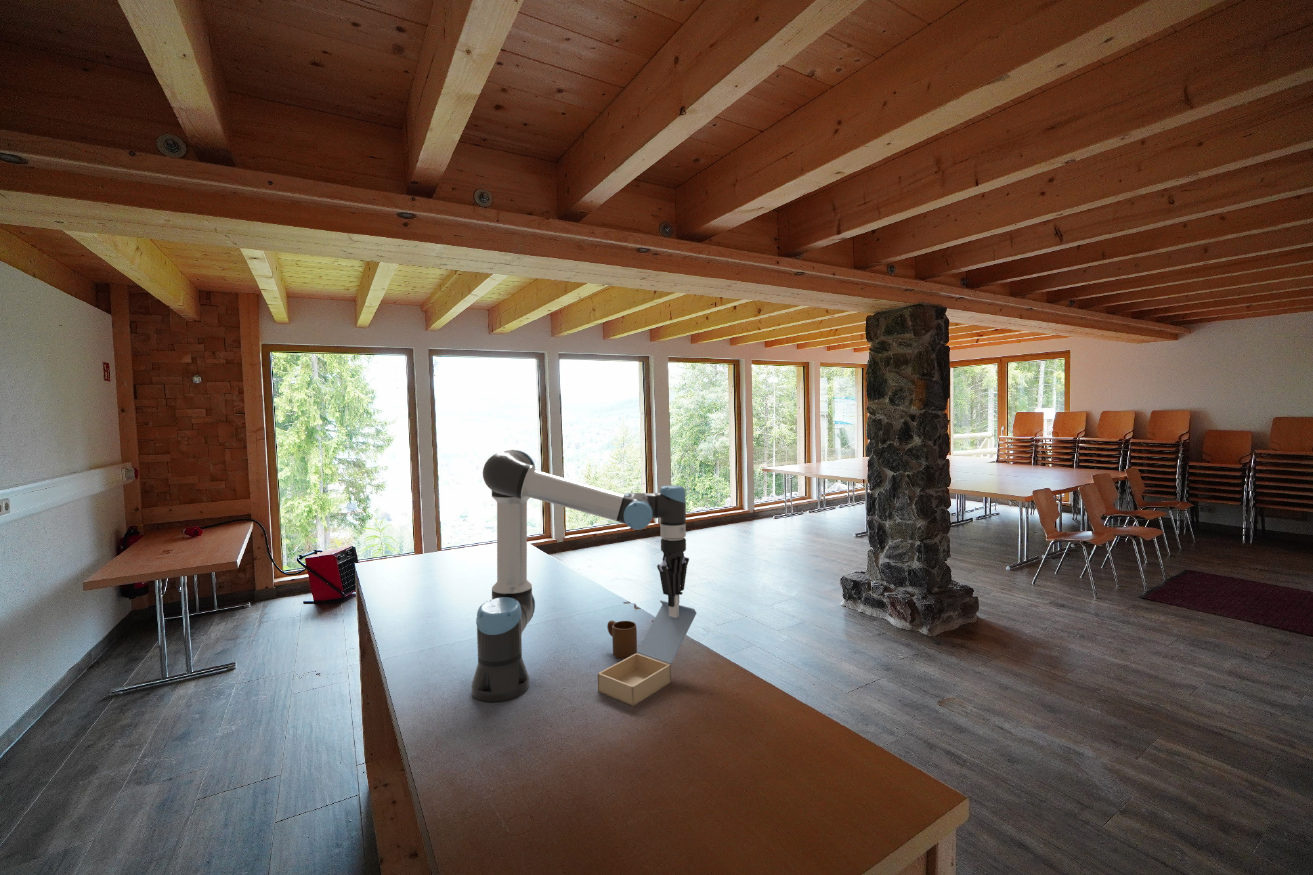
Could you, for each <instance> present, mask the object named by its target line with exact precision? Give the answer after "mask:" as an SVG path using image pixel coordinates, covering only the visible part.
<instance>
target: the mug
mask: <svg viewBox="0 0 1313 875" xmlns="http://www.w3.org/2000/svg"><path fill="white" fill-rule="evenodd" d="M606 629H607V631H608V634H609V635H610V636H611V637H612V638H611V639H612V640H611V641H612V654H613V657H615V658H616V659H619V660H624V659H626V658H628V657H630V656H632V655H634V654H636V653H637V651H638V632H637V631H638V629H637V624H636V623H635V622H634V621H631V620H621V621H617V622H616V621H615V620H609V621H608V622H607V628H606ZM637 654H638V653H637Z"/></svg>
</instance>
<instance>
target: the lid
mask: <svg viewBox="0 0 1313 875" xmlns="http://www.w3.org/2000/svg"><path fill="white" fill-rule="evenodd" d="M659 602H660V603H661V606H660V608H659V610H658V612H657V614H656V616H655V617H654V619H653V622H652V623H651V625H650V627H649V628H648V629H647V630H648V631H647V632H646V634H645V636H644V638H643V640H642V642H641V644H640V646H639V647H638V648H637V654H640V655H643V656H646V657H649V658H652V659H655V660H658V661H661V662H664V663H667V664H670V665H672V664H673V662H674V659H675V657H676V656H677V654H678V652H679V650H680V647H681V646H682V644H683V642H684V639H685V637H686V636H687V633H688V631H689V629H690V627H691V626H692V623H693V621H694V619H695V617H696V615H697V611H696V609H695V608H693V607H689V606H685V605H680V604H679V617H677V618H674V617H671V616H669V606H668V601H665V600H661V599H660V600H659Z"/></svg>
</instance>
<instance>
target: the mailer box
mask: <svg viewBox="0 0 1313 875" xmlns="http://www.w3.org/2000/svg"><path fill="white" fill-rule="evenodd" d="M671 668H672V664H670V663H667V662H664V661H661V660H658V659H655V658H652V657H649V656H646V655H643V654H640V653H636V654H634V655H632V656H630V657H628V658H626V659H621V661H619V662H616V663H614V664H613V665H611V666H609V667H607V668H605V669H604V670H602V671H599V672H597V692H598V693H600V694H602V695H605V696H607V697H610V698H613V699H615V700H617V701H619V702H622V703H623V704H627V705H629V706H631V707H635V706H637V705H638V704H639V703H641V702H642V701H644V700H645V699H647V698H649V697H650V696H652V695H653V694H655V693H657V692H658V691H660V690H661V689H663V688H664V687H666V686H668V685H669V684H671V683H672V680H671V679H672V670H671Z"/></svg>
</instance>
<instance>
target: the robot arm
mask: <svg viewBox="0 0 1313 875" xmlns="http://www.w3.org/2000/svg"><path fill="white" fill-rule="evenodd" d="M482 478H483V481H484V483H485V485H486V486H487V488H489V489H490V490H491V497H492V499H494V500H495V502H496V543H497V544H496V552H497V553H496V567H497V568H496V569H497V570H496V573H497V575H496V579H497V580H496V582H495V584H493V586H492V587H491V599H490V600H489V601H488V600H486V601H484V603H482V604H481V605H480V606H479V607H478V609H477V611H476V619H475V621H476V622H475V623H476V638H477V666H476V670H475V673H474V676H473V679H472V682H471V694H472V696H473V698H475V699H476V700H478V701H480V702H481V701H482V702H487V703H488V702H489V703H491V702H493V703H495V702H505V701H509V700H511V699H515V698H517V697H519V696H521V695H523V694H524V693H525V692H526V691H527V690H528V688H529V686H530V676H529V673H528V670H527V667H526V665H525V662H524V659H523V653H522V652H523V646H522V644H523V642H522V636H523V633H524V631H525V629H526V627H527V625H528V624H529V622H530V621H531V620H532V618H533V616H534V614H535V609H536V601H535V597H534V595H533V586H532V585H533V584H532V583H531V582H530V581H529V580H528V572H527V571H528V570H527V569H528V558H527V557H528V554H527V553H528V550H527V549H528V548H527V547H528V542H527V541H528V536H527V534H528V528H527V527H528V514H527V513H528V500H529V499H535V500H539V501H542V502H546V503H549V504H552V505H556V506H560V507H563V508H567V509H571V510H573V511H574V510H575V511H578V512H581V513H585V514H590V515H592V516H596V517H600V518H603V519H607V520H611V521H615V522H618V523H620V524H624V525H627V526H628V527H629V528H631V529H633V530H636V531H637V530H638V531H640V530H643V529H645V528H646V527H648V526H649V524H650V523H651V522H652V519H660V537H661V539H660V551H661V552H662V553H663V556H662V562H661V563H659V564H658V563H657V566H656V568H657V569H658V572H659V577H660V582H661V584H660V585H661V589H662V594H663V595H666V596H667V600H668V601H667V602H668V606H669V616H671V617H674V618H677V617H679V605H680V596H681V595H683V592H682V591H684V590H685V585H686V584H685V583H686V578H687V577H686V576H687V570H688V565H689V562H690V558H689V557H686V556H685V553H684V552H686V550H687V539H686V538H685V537H686V535H687V532H686V531H687V530H686V528H687V527H686V525H687V518H686V517H687V514H686V512H687V510H686V509H687V507H686V506H687V505H686V504H687V501H686V499H687V498H686V489H685V488H684V486H681V485H673V484H672V485H670V484H669V485H662V486H661V487H660V489H659V492H653V493H652V492H651V493H649V492H628V493H619V492H615V491H612V490H609V489H605V488H603V487H602V488H600V487H598V486H594V485H590V484H587V483H583V482H580V481H576V480H573V479H569V478H565V477H562V476H558V475H554V474H551V473H547V472H544V471H540V470H537V469H536V466H535V461H534V460H533V458H532V457H531V456H530V455H529V454H528V453H526V452H525V451H522V450H519V449H518V450H516V449H508V450H504V451H502V452H497V453H495V454H493V455H491V456H490V457H489V458H488V459H487V460H486V462H485V463H484V465H483V469H482Z"/></svg>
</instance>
